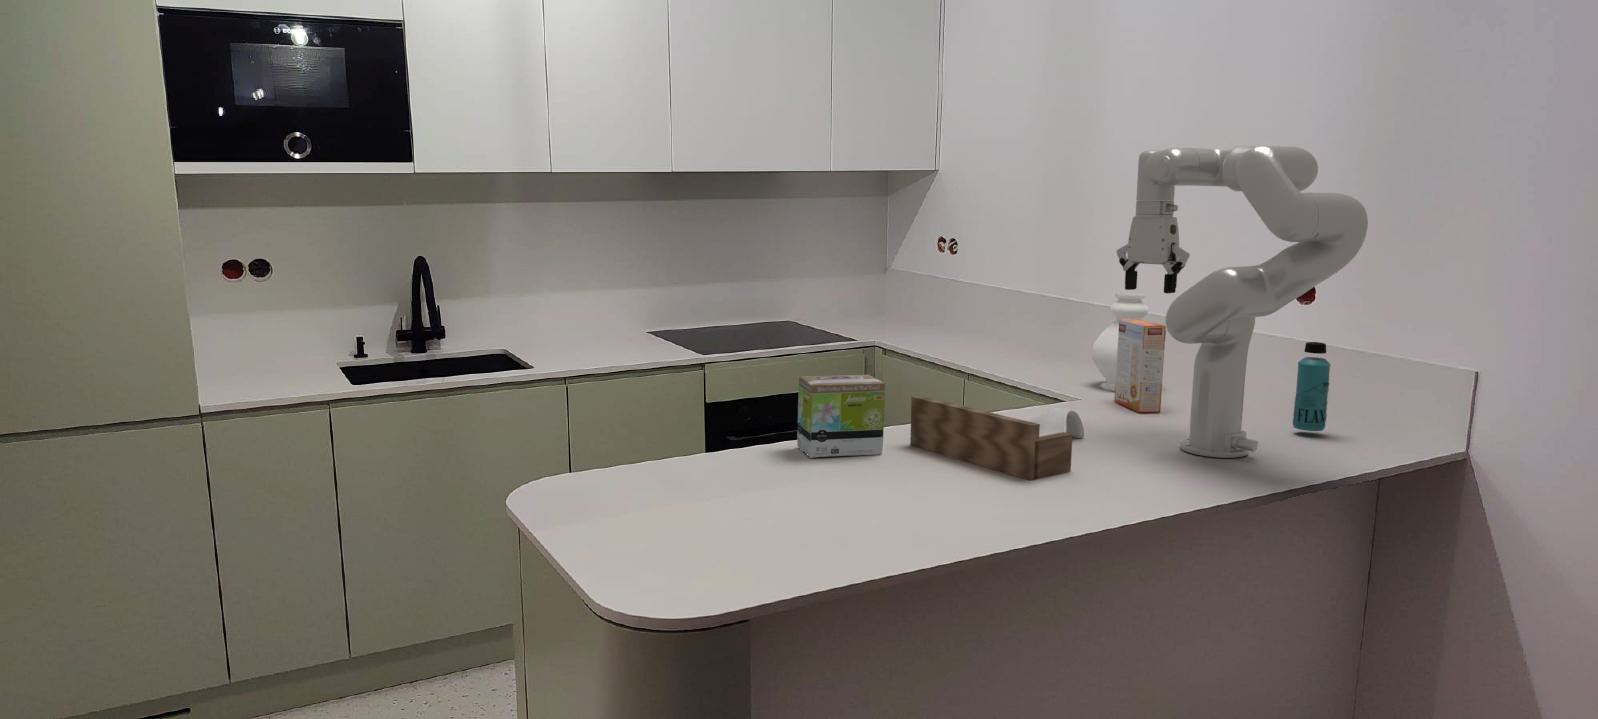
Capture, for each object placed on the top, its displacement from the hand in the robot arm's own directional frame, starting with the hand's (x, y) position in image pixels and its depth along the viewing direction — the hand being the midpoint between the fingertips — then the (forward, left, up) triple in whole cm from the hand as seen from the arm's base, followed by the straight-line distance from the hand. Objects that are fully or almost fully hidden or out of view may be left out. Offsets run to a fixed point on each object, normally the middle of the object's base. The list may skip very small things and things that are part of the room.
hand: (1149, 291), depth 220 cm
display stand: (+2, +46, -30) cm, 55 cm away
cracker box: (+16, -20, -31) cm, 40 cm away
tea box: (+22, +66, -31) cm, 76 cm away
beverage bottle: (-23, -26, -31) cm, 46 cm away
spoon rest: (+1, +29, -31) cm, 42 cm away
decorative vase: (+34, -39, -31) cm, 60 cm away
